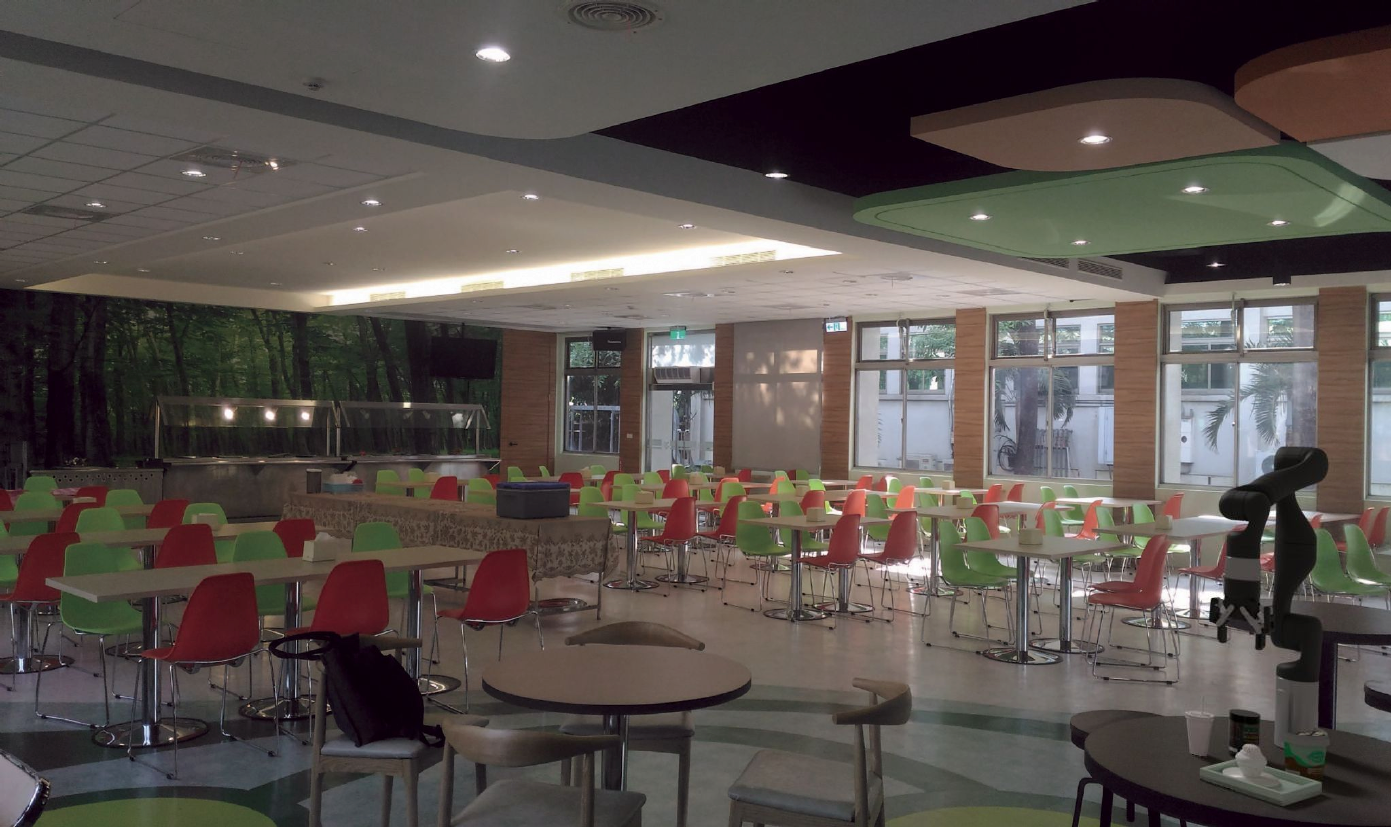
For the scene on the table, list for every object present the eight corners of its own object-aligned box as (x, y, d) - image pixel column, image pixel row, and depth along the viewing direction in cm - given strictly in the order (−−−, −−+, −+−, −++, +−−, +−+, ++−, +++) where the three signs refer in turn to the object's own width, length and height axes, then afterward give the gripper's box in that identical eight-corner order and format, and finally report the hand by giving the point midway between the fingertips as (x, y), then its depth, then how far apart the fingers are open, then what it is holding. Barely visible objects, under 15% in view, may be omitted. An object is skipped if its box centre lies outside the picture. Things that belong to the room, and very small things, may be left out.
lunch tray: (1238, 769, 234) (1239, 758, 234) (1321, 794, 219) (1321, 782, 219) (1199, 779, 225) (1199, 768, 225) (1282, 806, 210) (1282, 794, 210)
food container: (1308, 785, 224) (1309, 740, 224) (1281, 776, 230) (1282, 732, 230) (1341, 778, 230) (1342, 734, 230) (1313, 770, 235) (1315, 726, 236)
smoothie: (1216, 759, 240) (1218, 700, 241) (1187, 757, 242) (1189, 698, 242) (1208, 751, 247) (1210, 694, 247) (1180, 748, 248) (1182, 691, 248)
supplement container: (1266, 759, 242) (1267, 715, 242) (1246, 762, 239) (1247, 717, 240) (1241, 751, 248) (1242, 708, 248) (1221, 753, 246) (1222, 710, 246)
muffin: (1269, 776, 224) (1270, 744, 224) (1262, 782, 219) (1263, 750, 219) (1239, 769, 228) (1240, 737, 228) (1231, 775, 223) (1232, 743, 224)
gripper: (1282, 580, 232) (1280, 651, 232) (1221, 571, 244) (1219, 639, 244) (1264, 581, 228) (1262, 654, 228) (1204, 573, 240) (1202, 641, 240)
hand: (1240, 646), depth 236 cm, fingers open, 8 cm apart
